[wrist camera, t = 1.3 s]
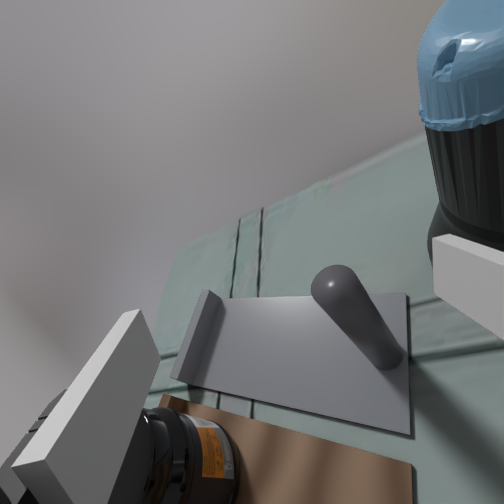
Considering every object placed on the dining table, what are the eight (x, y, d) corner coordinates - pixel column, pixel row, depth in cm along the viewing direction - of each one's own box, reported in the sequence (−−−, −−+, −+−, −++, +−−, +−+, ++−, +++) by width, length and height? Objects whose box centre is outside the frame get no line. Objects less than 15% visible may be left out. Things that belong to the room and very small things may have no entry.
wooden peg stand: (411, 464, 22) (355, 441, 13) (420, 743, 16) (323, 1064, 7) (181, 399, 39) (86, 368, 30) (138, 523, 32) (-1, 532, 23)
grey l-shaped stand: (406, 294, 30) (368, 206, 21) (410, 435, 24) (358, 395, 14) (215, 299, 47) (147, 251, 37) (186, 383, 40) (96, 349, 31)
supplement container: (228, 403, 34) (152, 376, 27) (259, 512, 26) (163, 518, 18) (164, 451, 35) (74, 437, 28) (175, 569, 27) (52, 597, 20)
